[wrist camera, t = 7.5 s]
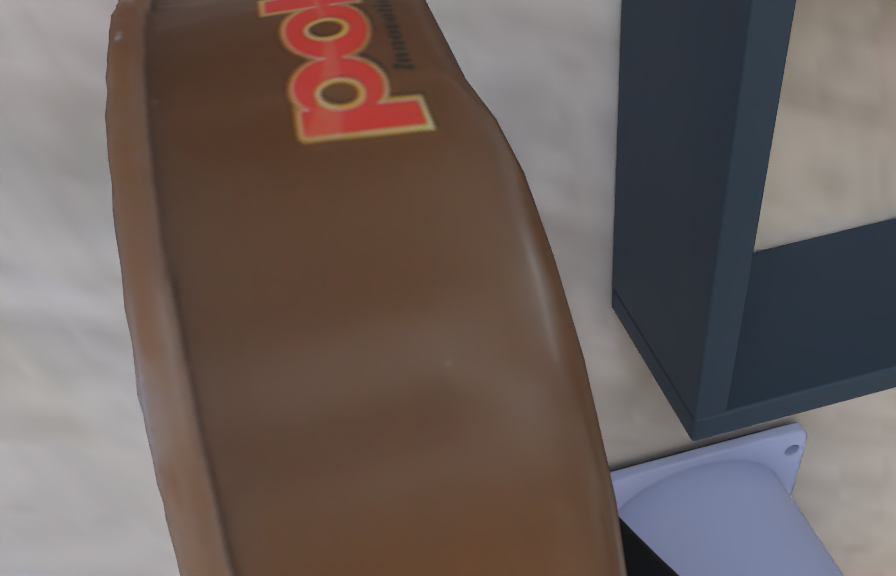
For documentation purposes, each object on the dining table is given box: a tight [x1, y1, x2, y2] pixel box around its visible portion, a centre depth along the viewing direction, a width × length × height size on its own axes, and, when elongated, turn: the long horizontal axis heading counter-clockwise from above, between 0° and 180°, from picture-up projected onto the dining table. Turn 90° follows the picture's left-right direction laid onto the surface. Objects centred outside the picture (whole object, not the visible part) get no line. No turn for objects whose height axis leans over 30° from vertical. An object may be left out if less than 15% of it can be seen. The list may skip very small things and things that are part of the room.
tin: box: [105, 0, 627, 576], centre depth 11 cm, size 15×3×8 cm, turn 6°
